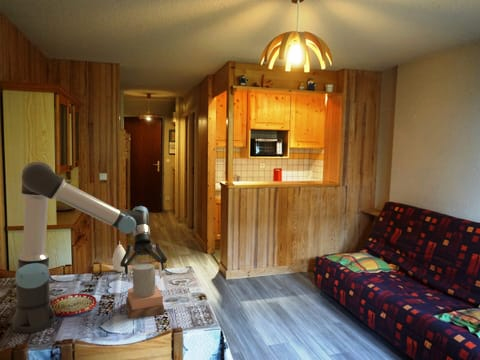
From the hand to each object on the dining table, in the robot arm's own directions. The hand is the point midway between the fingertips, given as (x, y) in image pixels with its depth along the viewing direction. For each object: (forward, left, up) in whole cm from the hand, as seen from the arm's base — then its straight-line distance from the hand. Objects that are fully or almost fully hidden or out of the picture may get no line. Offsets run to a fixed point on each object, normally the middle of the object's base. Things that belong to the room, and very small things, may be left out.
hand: (145, 278), depth 161 cm
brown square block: (+1, +2, -11) cm, 12 cm away
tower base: (+1, +2, -15) cm, 16 cm away
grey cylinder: (+1, +2, -7) cm, 8 cm away
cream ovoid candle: (+17, +52, -15) cm, 56 cm away
